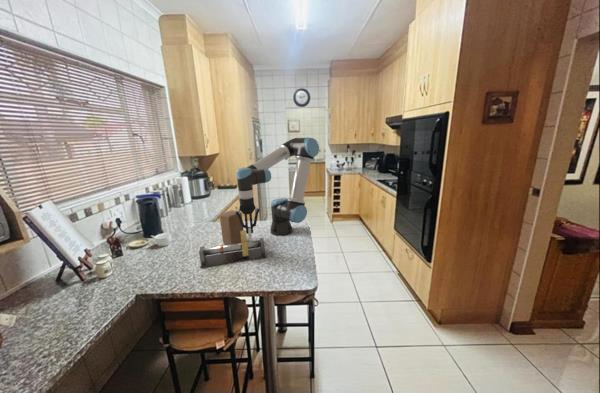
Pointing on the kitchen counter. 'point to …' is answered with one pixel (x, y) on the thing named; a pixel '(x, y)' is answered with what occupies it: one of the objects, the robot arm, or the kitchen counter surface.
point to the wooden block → (230, 227)
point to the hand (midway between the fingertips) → (250, 238)
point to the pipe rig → (231, 253)
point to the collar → (244, 243)
